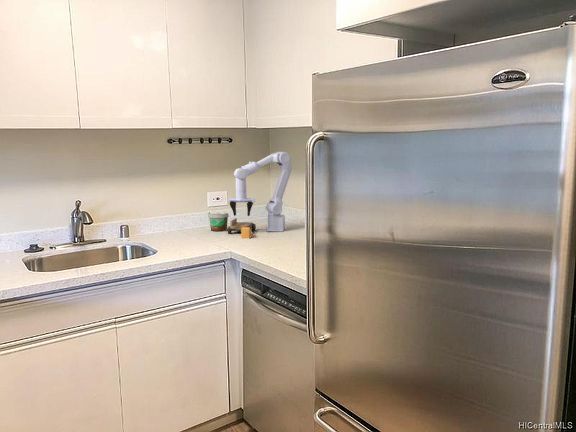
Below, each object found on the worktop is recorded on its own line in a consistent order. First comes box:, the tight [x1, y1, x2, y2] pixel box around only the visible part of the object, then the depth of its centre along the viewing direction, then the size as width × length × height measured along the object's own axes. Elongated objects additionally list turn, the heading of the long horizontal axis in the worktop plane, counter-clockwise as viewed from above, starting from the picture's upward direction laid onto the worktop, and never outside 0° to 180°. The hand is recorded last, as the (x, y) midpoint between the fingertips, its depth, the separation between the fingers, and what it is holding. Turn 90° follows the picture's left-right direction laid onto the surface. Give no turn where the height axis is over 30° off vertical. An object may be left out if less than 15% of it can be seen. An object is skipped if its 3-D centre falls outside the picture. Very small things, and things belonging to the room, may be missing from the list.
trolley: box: [227, 217, 257, 235], centre depth 254 cm, size 13×13×7 cm
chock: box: [240, 228, 254, 239], centre depth 243 cm, size 4×8×5 cm, turn 171°
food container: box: [207, 212, 230, 233], centre depth 258 cm, size 12×6×10 cm, turn 73°
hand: (241, 215), depth 250 cm, fingers open, 7 cm apart
